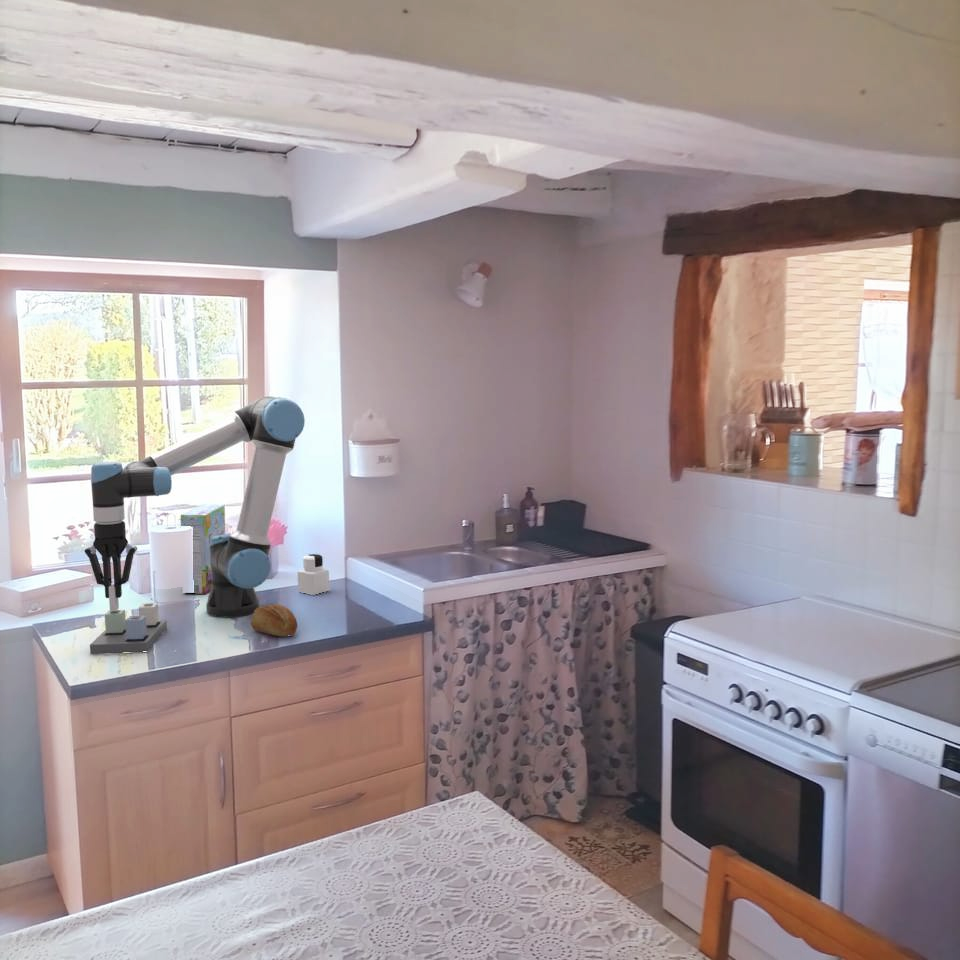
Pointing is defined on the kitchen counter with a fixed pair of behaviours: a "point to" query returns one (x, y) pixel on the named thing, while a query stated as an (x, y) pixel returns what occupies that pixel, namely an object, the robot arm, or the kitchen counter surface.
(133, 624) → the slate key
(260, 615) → the bread roll
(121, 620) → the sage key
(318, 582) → the stacked cream blocks
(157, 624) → the keypad board
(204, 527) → the snack box
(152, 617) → the ivory key
